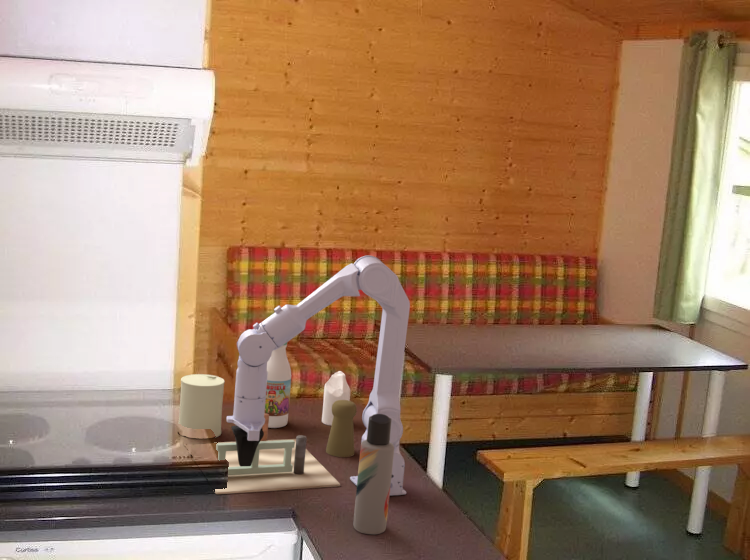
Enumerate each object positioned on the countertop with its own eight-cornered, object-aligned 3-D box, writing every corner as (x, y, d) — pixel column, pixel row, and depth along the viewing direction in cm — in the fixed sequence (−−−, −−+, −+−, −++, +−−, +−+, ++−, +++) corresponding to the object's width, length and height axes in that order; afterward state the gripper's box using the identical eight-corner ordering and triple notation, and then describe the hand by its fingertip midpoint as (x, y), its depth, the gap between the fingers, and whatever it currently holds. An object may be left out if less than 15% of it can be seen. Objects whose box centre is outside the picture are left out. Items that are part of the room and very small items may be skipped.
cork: (356, 449, 212) (361, 399, 210) (352, 458, 206) (357, 407, 204) (327, 445, 212) (332, 395, 210) (323, 454, 206) (328, 403, 205)
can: (229, 431, 215) (233, 377, 213) (203, 442, 207) (207, 386, 205) (195, 422, 219) (198, 369, 217) (168, 432, 211) (171, 377, 209)
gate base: (340, 486, 190) (343, 447, 189) (216, 494, 180) (219, 454, 179) (296, 440, 213) (299, 406, 212) (184, 445, 204) (186, 409, 202)
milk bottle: (249, 417, 226) (256, 331, 223) (283, 417, 228) (290, 332, 225) (256, 429, 219) (263, 339, 215) (290, 428, 221) (298, 340, 218)
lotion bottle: (385, 522, 175) (396, 412, 172) (386, 536, 169) (398, 422, 166) (352, 520, 175) (363, 410, 172) (353, 533, 169) (364, 420, 166)
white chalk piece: (326, 373, 224) (325, 367, 229) (321, 425, 226) (321, 417, 231) (352, 375, 224) (351, 369, 230) (348, 427, 226) (347, 419, 232)
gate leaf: (290, 469, 194) (292, 439, 193) (292, 471, 193) (294, 441, 192) (214, 473, 188) (216, 443, 187) (215, 476, 187) (218, 445, 186)
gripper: (223, 383, 190) (218, 451, 192) (233, 406, 176) (228, 479, 179) (260, 384, 192) (255, 451, 194) (273, 407, 178) (267, 479, 181)
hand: (244, 465), depth 187 cm, fingers closed
